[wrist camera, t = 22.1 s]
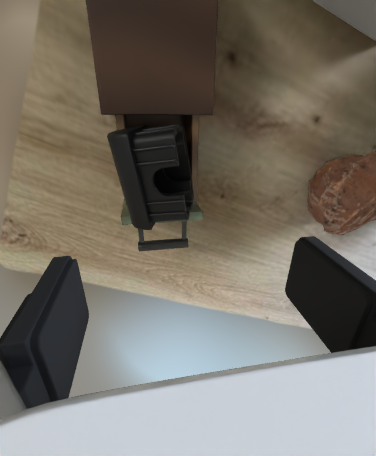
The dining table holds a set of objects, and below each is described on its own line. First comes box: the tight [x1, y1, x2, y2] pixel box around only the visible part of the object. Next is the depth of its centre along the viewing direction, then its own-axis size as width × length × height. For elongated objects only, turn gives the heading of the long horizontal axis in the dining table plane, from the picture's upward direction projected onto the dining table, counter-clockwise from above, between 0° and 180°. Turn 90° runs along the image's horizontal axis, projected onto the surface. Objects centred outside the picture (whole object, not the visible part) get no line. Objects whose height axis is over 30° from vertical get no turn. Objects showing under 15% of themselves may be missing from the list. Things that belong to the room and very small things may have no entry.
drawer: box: [116, 115, 203, 251], centre depth 33 cm, size 19×10×7 cm, turn 0°
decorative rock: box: [308, 151, 376, 235], centre depth 38 cm, size 13×11×10 cm
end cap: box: [107, 124, 194, 230], centre depth 27 cm, size 10×7×7 cm
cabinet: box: [86, 0, 218, 115], centre depth 26 cm, size 16×12×9 cm
